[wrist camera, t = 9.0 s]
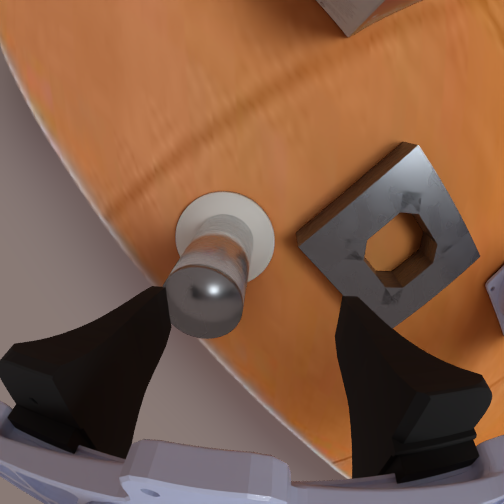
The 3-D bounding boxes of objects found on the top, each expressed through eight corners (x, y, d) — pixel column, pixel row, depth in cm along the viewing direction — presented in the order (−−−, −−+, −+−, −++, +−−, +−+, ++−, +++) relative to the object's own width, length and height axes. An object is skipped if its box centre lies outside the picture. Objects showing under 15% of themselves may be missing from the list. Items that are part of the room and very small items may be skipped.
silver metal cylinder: (265, 243, 22) (260, 309, 14) (225, 277, 23) (204, 350, 16) (224, 202, 21) (196, 250, 13) (185, 240, 22) (144, 300, 15)
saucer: (295, 242, 22) (295, 245, 22) (225, 298, 24) (225, 302, 24) (224, 169, 20) (223, 171, 20) (159, 236, 23) (156, 239, 22)
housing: (464, 243, 21) (480, 256, 19) (372, 318, 24) (380, 337, 22) (403, 141, 19) (418, 145, 16) (295, 233, 22) (298, 247, 20)
